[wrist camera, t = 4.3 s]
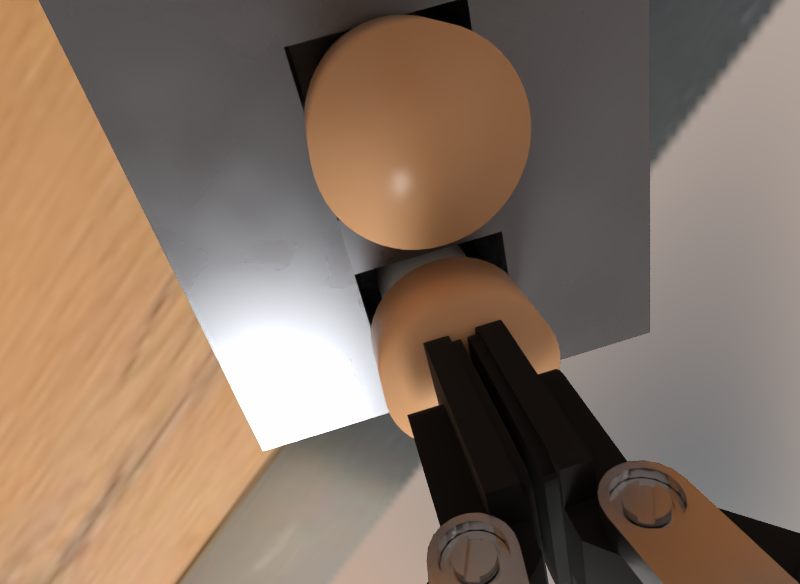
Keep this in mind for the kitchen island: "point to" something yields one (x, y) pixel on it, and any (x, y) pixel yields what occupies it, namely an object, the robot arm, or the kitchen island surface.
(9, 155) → the kitchen island surface
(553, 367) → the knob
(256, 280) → the mount
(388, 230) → the knob mid
